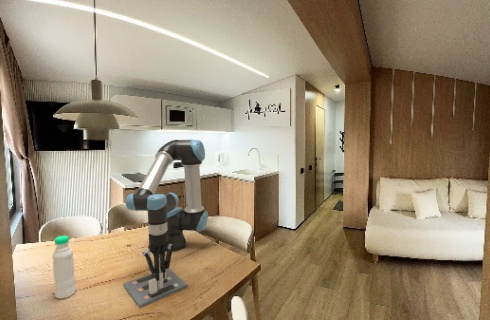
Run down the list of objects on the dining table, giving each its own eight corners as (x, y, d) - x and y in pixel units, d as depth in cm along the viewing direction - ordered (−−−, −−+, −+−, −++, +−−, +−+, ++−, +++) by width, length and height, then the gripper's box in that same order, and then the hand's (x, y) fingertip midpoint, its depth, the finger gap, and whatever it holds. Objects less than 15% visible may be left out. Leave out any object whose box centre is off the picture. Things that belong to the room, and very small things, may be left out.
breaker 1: (152, 274, 122) (151, 262, 121) (158, 272, 124) (157, 260, 123) (154, 276, 120) (153, 264, 119) (160, 274, 122) (160, 262, 121)
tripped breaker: (148, 294, 107) (147, 280, 106) (155, 291, 109) (155, 277, 108) (150, 296, 105) (150, 283, 104) (157, 293, 107) (157, 280, 106)
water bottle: (72, 287, 114) (68, 232, 112) (78, 293, 110) (74, 236, 107) (53, 295, 109) (48, 237, 106) (58, 301, 104) (54, 242, 102)
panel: (123, 286, 115) (123, 283, 115) (167, 269, 129) (167, 267, 129) (139, 308, 100) (139, 305, 100) (187, 287, 114) (187, 284, 114)
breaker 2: (158, 280, 117) (157, 268, 116) (164, 278, 119) (164, 265, 118) (160, 282, 115) (160, 270, 114) (167, 280, 117) (166, 267, 116)
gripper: (146, 239, 99) (148, 297, 101) (176, 230, 108) (178, 284, 110) (139, 233, 105) (141, 288, 107) (168, 226, 113) (170, 277, 116)
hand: (160, 286), depth 109 cm, fingers closed
